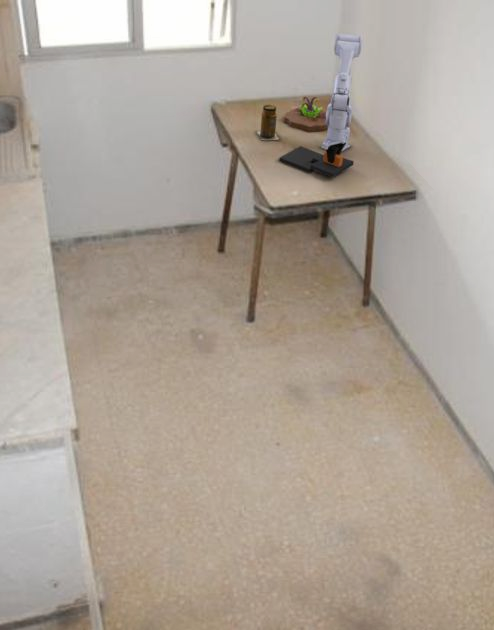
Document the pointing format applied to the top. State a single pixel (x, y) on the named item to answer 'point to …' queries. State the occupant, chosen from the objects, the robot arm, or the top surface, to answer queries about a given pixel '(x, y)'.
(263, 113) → the condiment
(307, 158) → the black pad
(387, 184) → the top surface
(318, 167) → the charcoal pad
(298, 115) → the plant
